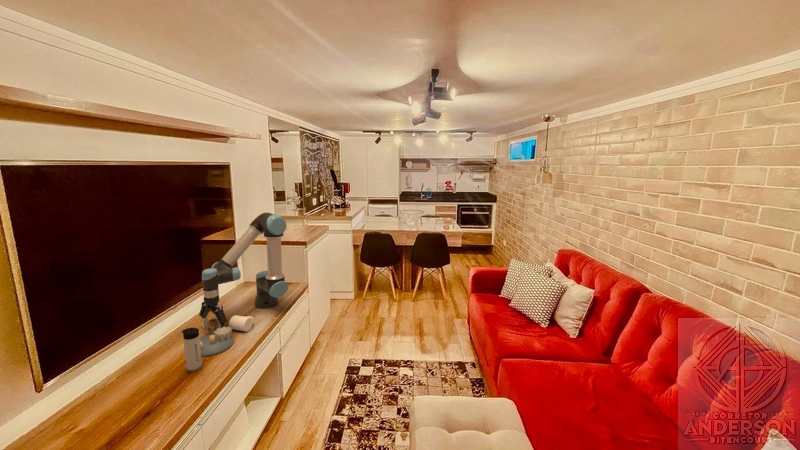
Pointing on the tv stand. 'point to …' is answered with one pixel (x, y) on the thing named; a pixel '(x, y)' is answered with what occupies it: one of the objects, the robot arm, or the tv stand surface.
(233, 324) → the mug
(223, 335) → the carrier
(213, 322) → the oak gear
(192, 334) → the travel mug
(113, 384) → the tv stand surface
